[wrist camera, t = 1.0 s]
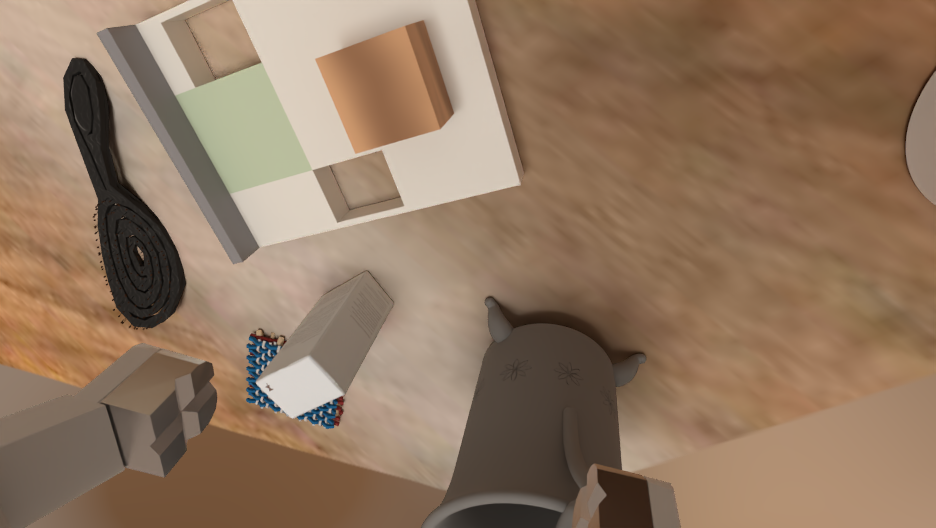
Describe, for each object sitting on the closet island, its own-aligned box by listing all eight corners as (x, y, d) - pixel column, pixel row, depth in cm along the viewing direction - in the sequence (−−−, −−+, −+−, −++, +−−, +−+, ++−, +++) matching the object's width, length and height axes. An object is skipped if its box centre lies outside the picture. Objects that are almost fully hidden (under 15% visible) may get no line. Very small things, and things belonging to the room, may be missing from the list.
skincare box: (350, 327, 49) (290, 421, 39) (321, 294, 48) (251, 382, 38) (397, 303, 47) (346, 396, 36) (368, 268, 45) (306, 354, 35)
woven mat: (343, 422, 57) (336, 436, 55) (254, 392, 57) (244, 406, 56) (354, 354, 51) (346, 367, 50) (256, 322, 52) (244, 334, 50)
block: (423, 19, 32) (404, 25, 28) (454, 113, 34) (440, 129, 31) (341, 50, 34) (315, 58, 30) (376, 136, 36) (355, 153, 33)
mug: (586, 444, 51) (590, 785, 30) (447, 393, 51) (352, 695, 30) (682, 301, 41) (791, 658, 20) (509, 238, 41) (433, 524, 20)
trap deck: (445, -106, 30) (423, -118, 26) (524, 172, 38) (516, 198, 34) (150, 26, 38) (96, 33, 34) (265, 236, 46) (233, 264, 41)
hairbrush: (102, 65, 38) (172, 339, 49) (139, 60, 41) (197, 319, 53) (7, 56, 39) (97, 326, 51) (50, 52, 42) (126, 307, 54)
